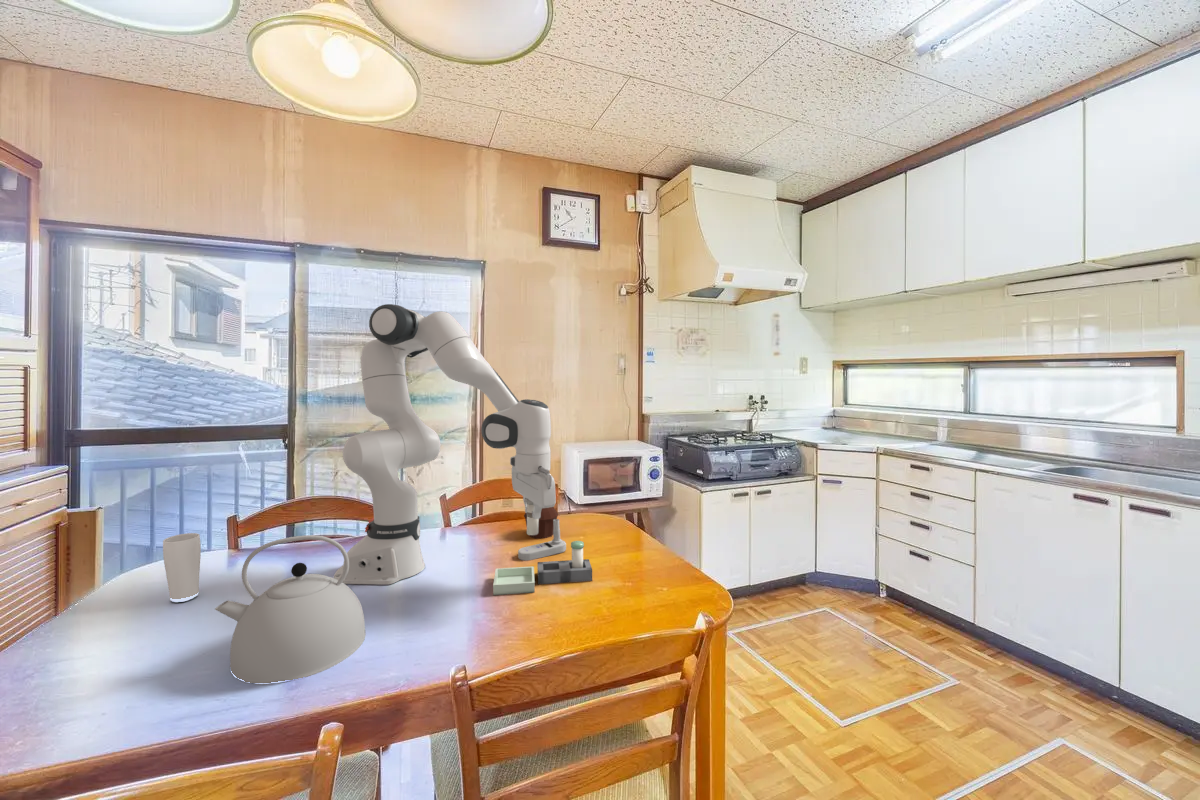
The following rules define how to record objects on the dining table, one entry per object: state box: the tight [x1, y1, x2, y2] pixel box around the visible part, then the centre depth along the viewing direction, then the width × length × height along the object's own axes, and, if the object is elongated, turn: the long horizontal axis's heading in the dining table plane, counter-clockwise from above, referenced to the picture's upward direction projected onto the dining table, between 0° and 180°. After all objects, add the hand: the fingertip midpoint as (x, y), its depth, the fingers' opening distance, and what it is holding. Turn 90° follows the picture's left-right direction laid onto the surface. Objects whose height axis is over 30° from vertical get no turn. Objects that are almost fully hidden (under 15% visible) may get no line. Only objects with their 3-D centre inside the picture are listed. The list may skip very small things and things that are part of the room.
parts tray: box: [492, 565, 536, 596], centre depth 123 cm, size 10×10×2 cm
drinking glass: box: [162, 532, 202, 599], centre depth 115 cm, size 7×7×15 cm
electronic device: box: [517, 518, 567, 561], centre depth 144 cm, size 5×10×15 cm
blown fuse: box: [526, 499, 539, 536], centre depth 125 cm, size 3×3×9 cm
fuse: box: [570, 540, 585, 569], centre depth 129 cm, size 3×3×9 cm
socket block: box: [537, 558, 593, 585], centre depth 128 cm, size 14×7×3 cm, turn 99°
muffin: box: [523, 506, 559, 539], centre depth 162 cm, size 12×11×10 cm
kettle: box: [214, 534, 367, 683], centre depth 94 cm, size 25×23×23 cm
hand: (532, 515), depth 125 cm, fingers closed on blown fuse, 3 cm apart
